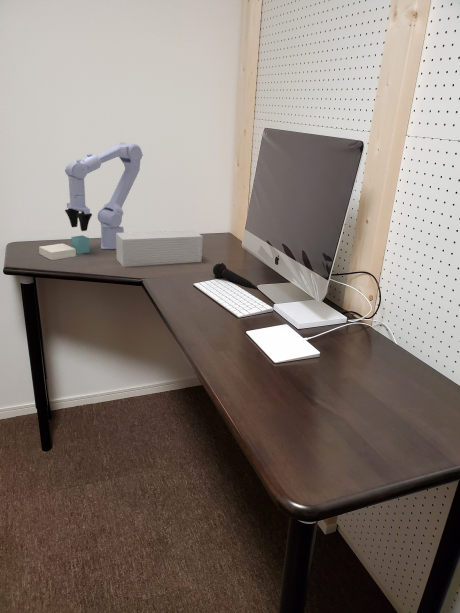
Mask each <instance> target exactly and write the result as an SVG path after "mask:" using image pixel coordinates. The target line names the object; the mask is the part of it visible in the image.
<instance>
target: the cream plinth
mask: <svg viewBox="0 0 460 613" xmlns="http://www.w3.org/2000/svg"><path fill="white" fill-rule="evenodd" d="M38 253H39V255H41V256H42V257H44V258H46V259H49V260H50V261H55V260H56V261H57V260H60V259H68V258H74V257H77V253H76V249H75V248H72V246H70V245H67V244H65V243H62V242H61V243H56V244H50V245H49V244H47V245H43V246H42V245H40V246H38Z"/></svg>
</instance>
